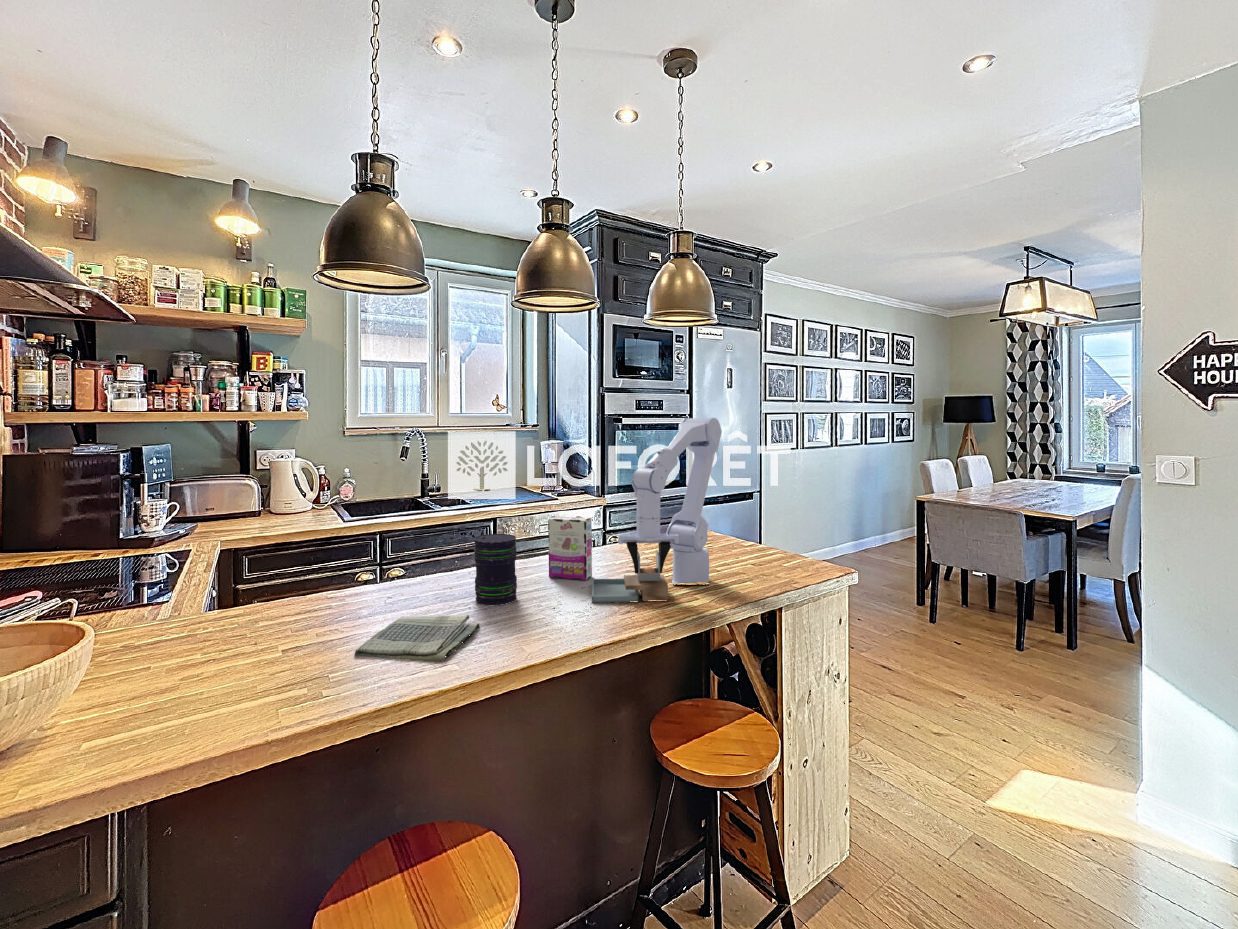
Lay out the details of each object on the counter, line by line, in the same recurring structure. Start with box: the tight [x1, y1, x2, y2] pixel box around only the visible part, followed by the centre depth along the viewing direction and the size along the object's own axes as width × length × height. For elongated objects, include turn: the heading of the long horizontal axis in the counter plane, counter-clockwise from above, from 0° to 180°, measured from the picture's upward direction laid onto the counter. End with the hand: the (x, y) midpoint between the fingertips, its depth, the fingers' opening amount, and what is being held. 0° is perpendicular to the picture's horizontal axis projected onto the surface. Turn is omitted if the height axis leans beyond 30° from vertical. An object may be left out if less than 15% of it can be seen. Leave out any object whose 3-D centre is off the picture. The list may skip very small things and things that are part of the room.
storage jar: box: [473, 533, 518, 606], centre depth 139 cm, size 10×10×15 cm
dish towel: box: [354, 614, 481, 662], centre depth 114 cm, size 19×18×3 cm
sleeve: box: [636, 550, 661, 581], centre depth 142 cm, size 5×5×6 cm
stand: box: [623, 574, 669, 601], centre depth 142 cm, size 10×9×4 cm
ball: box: [643, 566, 656, 573], centre depth 142 cm, size 3×3×3 cm
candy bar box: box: [547, 516, 593, 581], centre depth 159 cm, size 11×5×16 cm, turn 73°
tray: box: [591, 578, 639, 604], centre depth 145 cm, size 11×15×2 cm
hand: (648, 572), depth 142 cm, fingers closed on sleeve, 5 cm apart
